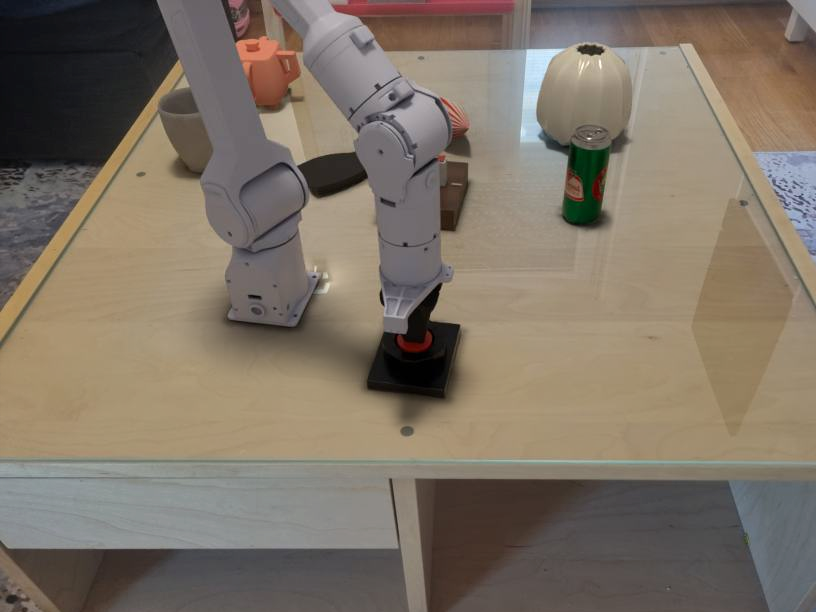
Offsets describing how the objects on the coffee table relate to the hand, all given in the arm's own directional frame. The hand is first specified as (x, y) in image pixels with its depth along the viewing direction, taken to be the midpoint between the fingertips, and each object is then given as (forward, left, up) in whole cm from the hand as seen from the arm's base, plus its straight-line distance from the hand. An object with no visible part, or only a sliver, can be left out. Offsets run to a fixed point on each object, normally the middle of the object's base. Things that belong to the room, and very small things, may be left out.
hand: (414, 338), depth 77 cm
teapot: (+56, +38, -3) cm, 68 cm away
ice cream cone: (+50, +7, -3) cm, 51 cm away
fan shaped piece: (+35, +18, -3) cm, 39 cm away
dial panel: (+30, +5, -3) cm, 31 cm away
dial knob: (+30, +5, 0) cm, 30 cm away
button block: (0, 0, -3) cm, 3 cm away
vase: (+52, -15, -3) cm, 54 cm away
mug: (+36, +39, -3) cm, 53 cm away
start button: (0, 0, -2) cm, 2 cm away
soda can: (+30, -16, -3) cm, 34 cm away
